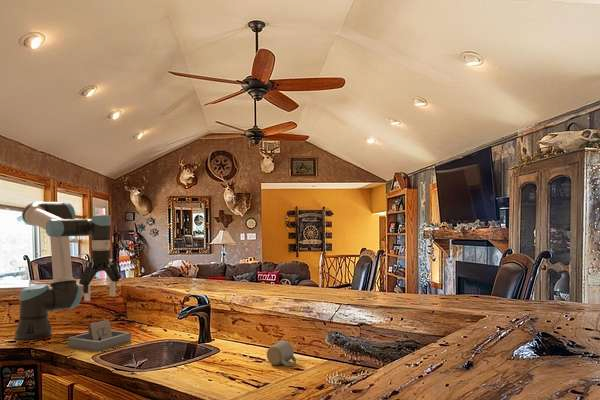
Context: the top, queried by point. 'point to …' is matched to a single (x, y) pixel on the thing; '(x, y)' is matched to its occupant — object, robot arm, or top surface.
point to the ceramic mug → (281, 354)
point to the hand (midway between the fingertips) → (100, 298)
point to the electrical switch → (100, 330)
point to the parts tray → (97, 346)
